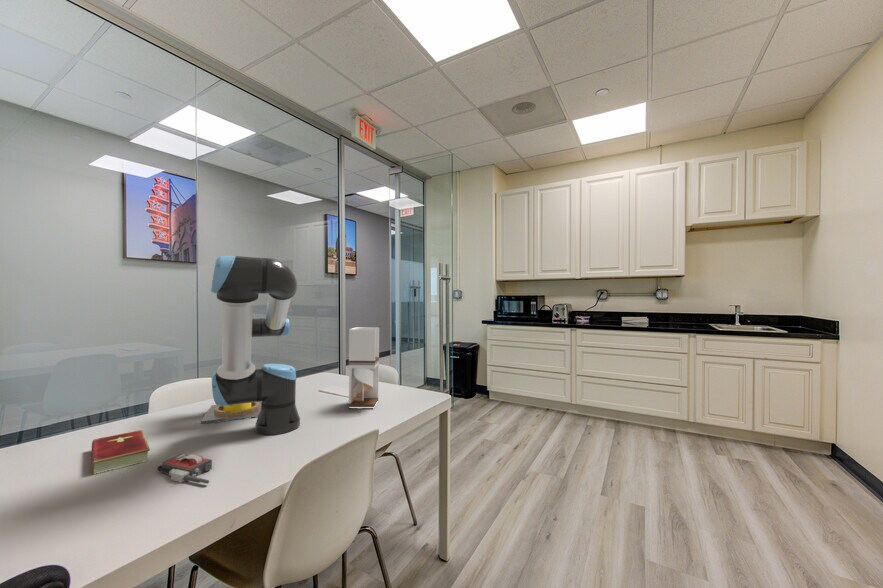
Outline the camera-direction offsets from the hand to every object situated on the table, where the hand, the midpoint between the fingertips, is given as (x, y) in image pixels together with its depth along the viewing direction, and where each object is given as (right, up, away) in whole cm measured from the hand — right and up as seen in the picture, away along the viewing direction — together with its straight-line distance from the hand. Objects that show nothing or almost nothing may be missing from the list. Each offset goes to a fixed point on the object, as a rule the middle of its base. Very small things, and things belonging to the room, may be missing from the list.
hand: (237, 400), depth 147 cm
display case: (+51, -6, +11) cm, 52 cm away
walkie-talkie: (+18, -5, -52) cm, 55 cm away
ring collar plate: (0, -5, 0) cm, 5 cm away
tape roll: (0, -4, 0) cm, 4 cm away
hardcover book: (-11, -5, -42) cm, 43 cm away
